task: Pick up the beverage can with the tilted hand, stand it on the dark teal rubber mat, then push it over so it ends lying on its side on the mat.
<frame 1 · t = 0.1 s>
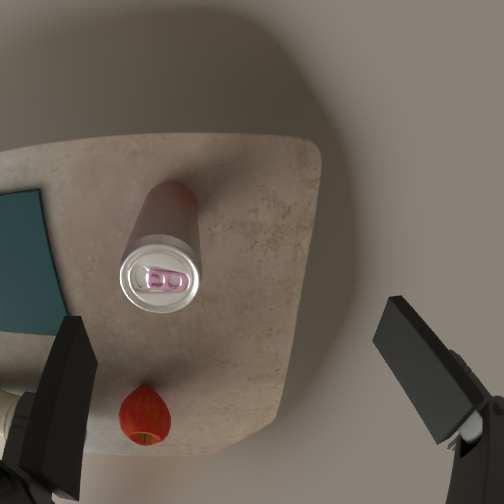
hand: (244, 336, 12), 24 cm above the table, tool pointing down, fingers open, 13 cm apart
vase: (26, 390, 43), on the table
apple: (146, 388, 47), on the table
beverage can: (170, 206, 33), on the table
mat: (0, 271, 32), on the table
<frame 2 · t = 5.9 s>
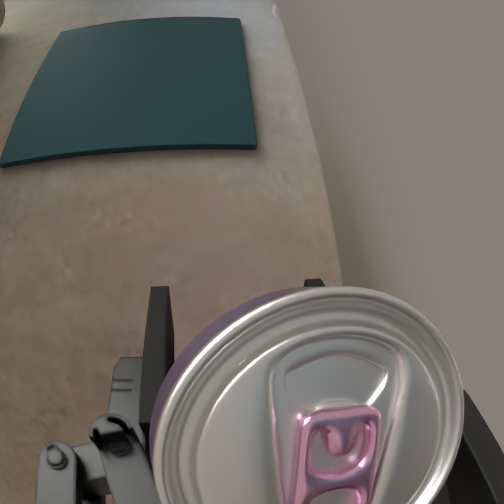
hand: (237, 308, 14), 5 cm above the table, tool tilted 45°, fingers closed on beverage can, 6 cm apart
beverage can: (230, 375, 18), on the table, touching gripper
mat: (130, 70, 23), on the table
when the fingers open (6 cm above the table, at t = 14.4 s): beverage can stays where it is, resting on mat.
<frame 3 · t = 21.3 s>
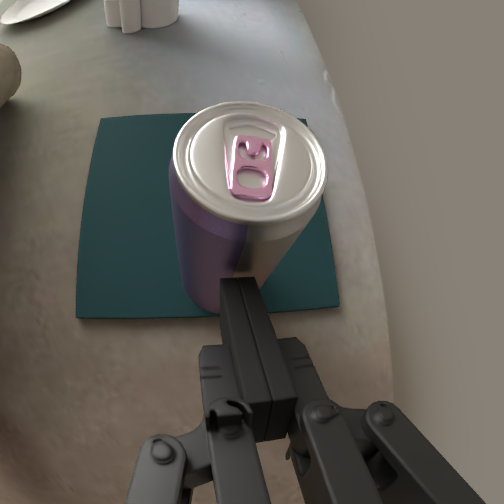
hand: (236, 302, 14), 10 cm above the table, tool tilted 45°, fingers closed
vase 2: (141, 22, 34), on the table
beverage can: (219, 278, 24), point 1 cm above the table, touching gripper, mat
plate: (47, 4, 34), on the table
mat: (204, 201, 27), on the table
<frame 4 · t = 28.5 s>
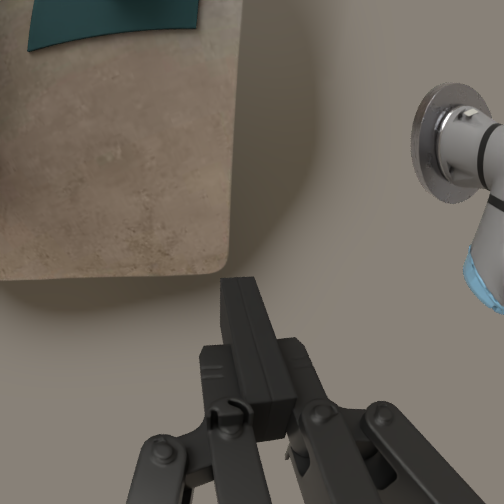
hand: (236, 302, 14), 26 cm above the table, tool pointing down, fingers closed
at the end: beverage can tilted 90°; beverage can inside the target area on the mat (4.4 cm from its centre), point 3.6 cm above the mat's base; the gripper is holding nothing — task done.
